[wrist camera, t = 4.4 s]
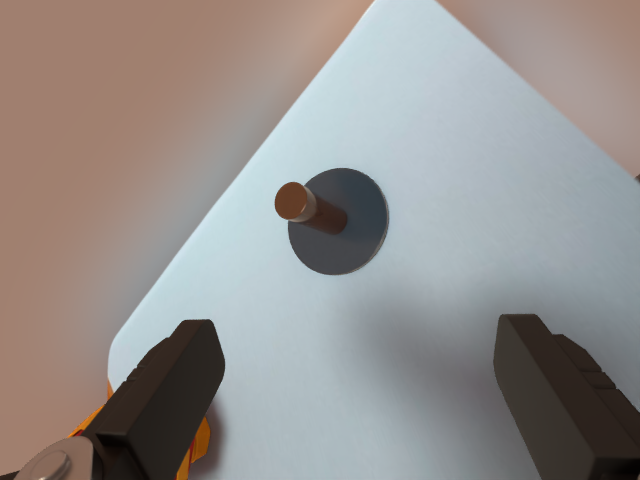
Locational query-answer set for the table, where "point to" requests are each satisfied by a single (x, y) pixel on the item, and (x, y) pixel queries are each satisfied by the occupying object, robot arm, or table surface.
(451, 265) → the table surface
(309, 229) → the lid
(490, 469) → the table surface
